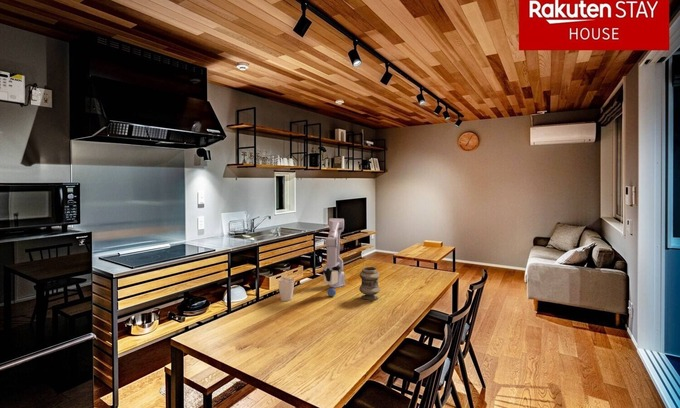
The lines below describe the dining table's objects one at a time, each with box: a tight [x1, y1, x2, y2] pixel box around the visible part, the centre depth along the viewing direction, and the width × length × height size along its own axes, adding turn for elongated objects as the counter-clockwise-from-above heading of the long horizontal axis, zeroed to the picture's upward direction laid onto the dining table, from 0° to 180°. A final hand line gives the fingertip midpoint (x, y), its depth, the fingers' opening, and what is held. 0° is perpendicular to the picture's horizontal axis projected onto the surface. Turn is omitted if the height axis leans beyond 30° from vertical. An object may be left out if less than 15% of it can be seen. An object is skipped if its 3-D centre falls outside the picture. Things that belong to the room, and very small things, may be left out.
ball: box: [326, 287, 337, 297], centre depth 208 cm, size 5×5×5 cm
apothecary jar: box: [358, 266, 381, 302], centre depth 204 cm, size 12×12×18 cm
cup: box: [278, 276, 295, 302], centre depth 203 cm, size 9×9×12 cm
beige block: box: [323, 269, 338, 285], centre depth 208 cm, size 6×6×7 cm
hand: (331, 279), depth 208 cm, fingers closed on beige block, 6 cm apart
